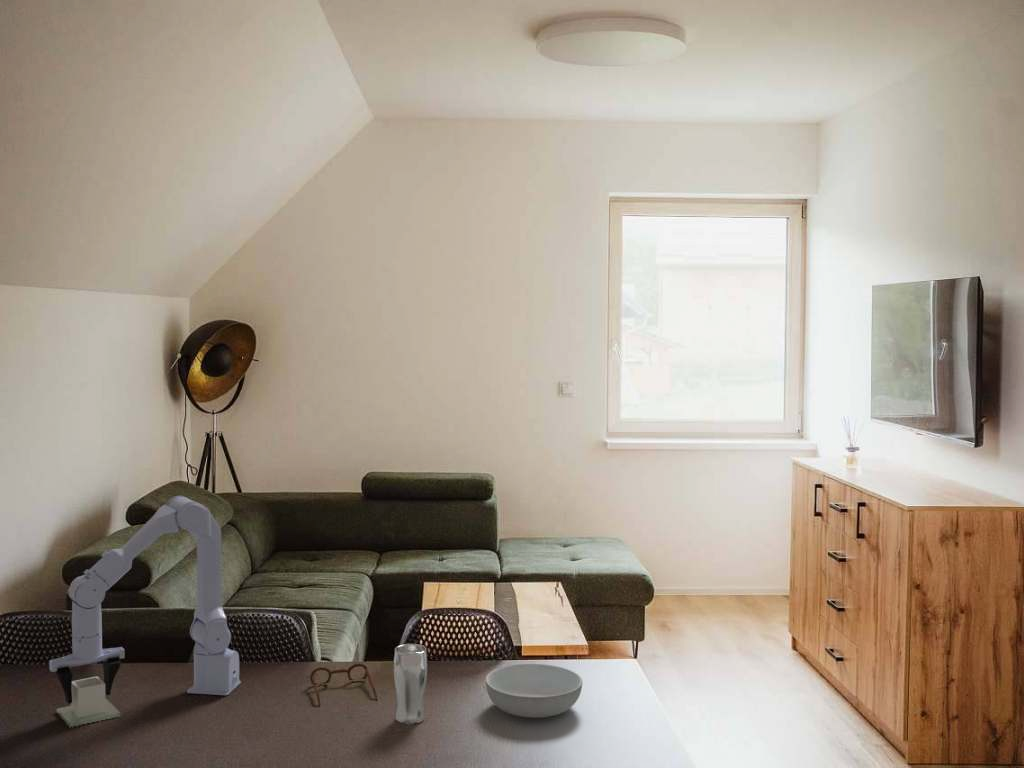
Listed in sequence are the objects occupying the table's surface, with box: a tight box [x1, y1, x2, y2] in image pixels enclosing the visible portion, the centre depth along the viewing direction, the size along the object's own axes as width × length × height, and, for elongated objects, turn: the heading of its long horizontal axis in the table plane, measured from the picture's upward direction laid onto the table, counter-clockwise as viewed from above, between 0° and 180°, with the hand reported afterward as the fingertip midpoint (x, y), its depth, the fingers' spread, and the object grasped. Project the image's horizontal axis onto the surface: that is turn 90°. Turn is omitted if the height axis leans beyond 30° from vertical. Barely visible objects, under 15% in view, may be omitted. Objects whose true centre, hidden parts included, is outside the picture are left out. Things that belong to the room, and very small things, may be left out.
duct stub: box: [56, 697, 121, 729], centre depth 212 cm, size 10×10×4 cm
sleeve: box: [70, 676, 106, 718], centre depth 212 cm, size 5×5×6 cm
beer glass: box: [393, 643, 428, 725], centre depth 212 cm, size 7×7×15 cm
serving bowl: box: [485, 663, 583, 719], centre depth 218 cm, size 21×21×7 cm
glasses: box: [309, 662, 378, 706], centre depth 226 cm, size 13×13×5 cm
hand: (88, 697), depth 212 cm, fingers open, 7 cm apart
